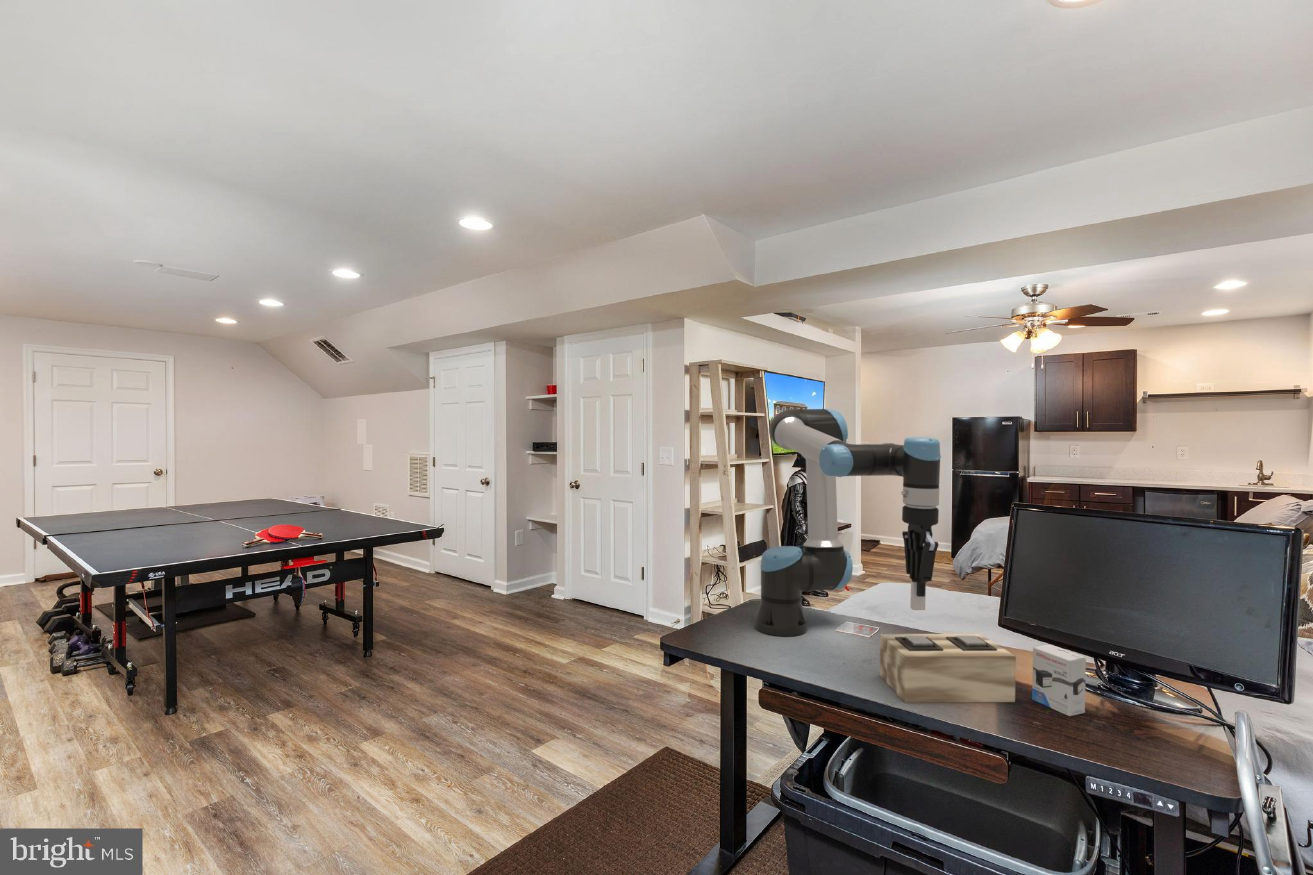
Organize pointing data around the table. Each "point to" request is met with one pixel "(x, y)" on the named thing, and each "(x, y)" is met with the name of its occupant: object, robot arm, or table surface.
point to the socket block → (947, 670)
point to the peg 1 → (918, 641)
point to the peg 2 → (970, 641)
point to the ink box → (1059, 679)
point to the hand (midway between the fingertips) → (917, 608)
